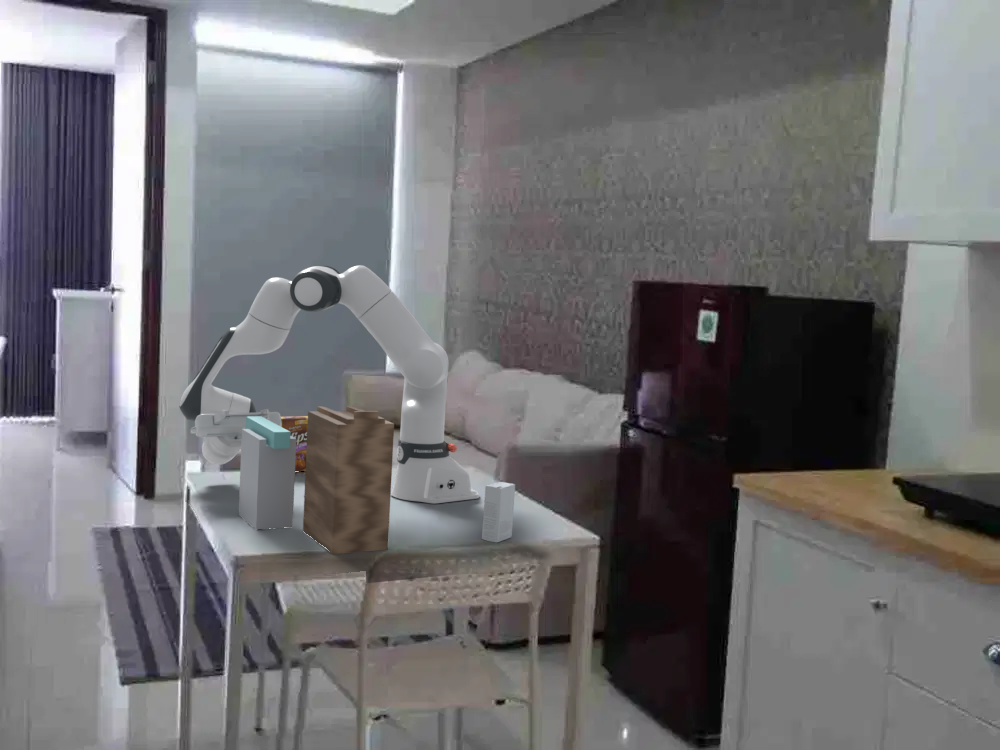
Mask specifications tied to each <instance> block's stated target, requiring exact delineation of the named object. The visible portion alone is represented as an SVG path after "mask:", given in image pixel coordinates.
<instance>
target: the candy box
mask: <svg viewBox="0 0 1000 750" xmlns="http://www.w3.org/2000/svg"><path fill="white" fill-rule="evenodd" d="M281 422H282V426H281V427H282V428H284V429H286V430H288V431H290V432H291V434H290V435H291V436H292V437H294V438H296V458H295V471H306V448H307V425H308V415H297V416H296V415H293V416H292V415H289V416H285V415H284V416H283V415H282V416H281Z"/></svg>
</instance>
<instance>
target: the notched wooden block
mask: <svg viewBox="0 0 1000 750" xmlns="http://www.w3.org/2000/svg"><path fill="white" fill-rule="evenodd" d="M316 407H317V408H316V410H312V411H311V410H310V411H309V410H307V416H308V425H307V448H306V472H304V473H305V475H304V495H303V497H304V499H303V518H302V519H303V520H302V521H303V522H302V523H303V524H302V525H303V527H302V532H303V531H304V532H305V533H306V534H308V535H309V536H311V537H312V538H313V539H314V540H316V541H317V542H318V543H320V544H321V545H323V546H324V547H326V548H327V549H328V550H329V551H330V552H329V553H330V554H331V555H337V554H338V555H340V554H349V553H352V554H353V553H361V552H362V553H363V552H373V551H374V552H375V551H385V550H387V549H389V536H390V535H389V533H390V512H391V496H392V495H391V491H392V474H393V473H392V472H393V458H394V457H393V454H394V434H395V423H394V422H391V421H389V420H386V418H384V417H381V416H379V410H364V409H361V408H360V407H359V408H358V407H357V406H354V405H346V408H345V410H335V409H332V408H329V407H326V406H324V405H323V406H321V405H320V406H319V405H318V406H316ZM304 532H303V533H304ZM305 533H304V534H305ZM306 534H305V535H306ZM308 535H307V536H308ZM309 536H308V537H309ZM312 538H311V539H312ZM313 539H312V540H313ZM314 540H313V541H314ZM317 542H316V543H317ZM318 543H317V544H318ZM321 545H320V546H321ZM387 551H388V550H387Z"/></svg>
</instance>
